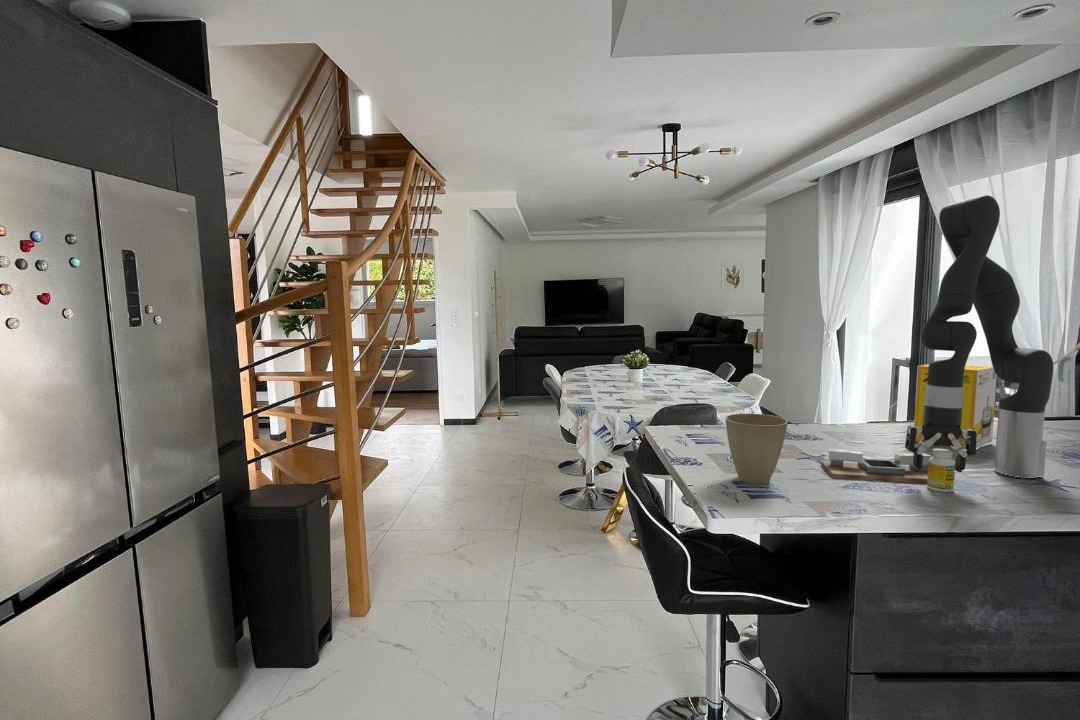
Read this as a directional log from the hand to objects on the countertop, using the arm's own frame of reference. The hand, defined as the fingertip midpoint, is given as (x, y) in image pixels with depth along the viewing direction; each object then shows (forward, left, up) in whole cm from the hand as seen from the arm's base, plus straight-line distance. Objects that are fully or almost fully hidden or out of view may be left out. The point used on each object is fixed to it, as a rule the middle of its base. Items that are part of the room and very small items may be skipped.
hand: (938, 470), depth 139 cm
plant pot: (+42, +2, -5) cm, 43 cm away
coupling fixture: (+9, -10, -3) cm, 14 cm away
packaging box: (-26, -54, -5) cm, 60 cm away
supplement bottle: (-1, 0, -5) cm, 5 cm away
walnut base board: (+9, -10, -5) cm, 14 cm away
